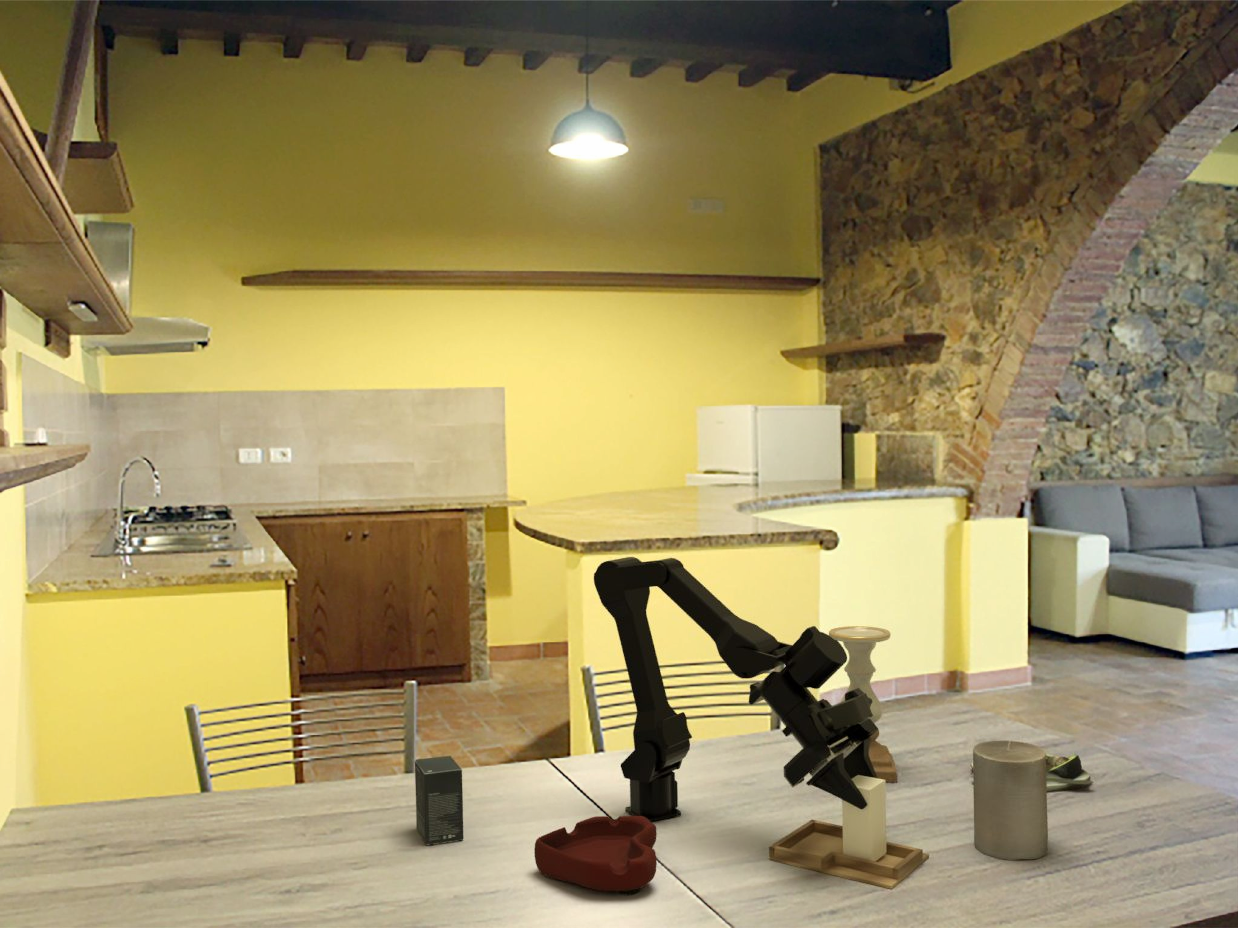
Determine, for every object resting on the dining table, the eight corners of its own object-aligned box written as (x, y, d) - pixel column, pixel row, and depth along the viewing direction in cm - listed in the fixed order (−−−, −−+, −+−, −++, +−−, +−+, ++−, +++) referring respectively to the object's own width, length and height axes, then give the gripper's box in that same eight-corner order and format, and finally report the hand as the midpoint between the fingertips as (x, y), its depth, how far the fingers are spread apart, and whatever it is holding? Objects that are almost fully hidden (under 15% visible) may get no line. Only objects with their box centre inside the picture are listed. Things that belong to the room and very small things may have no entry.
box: (464, 840, 166) (462, 768, 165) (425, 846, 164) (423, 773, 164) (453, 823, 173) (451, 753, 173) (415, 828, 171) (413, 758, 171)
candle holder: (826, 761, 200) (824, 625, 199) (891, 762, 198) (889, 625, 197) (829, 781, 189) (827, 637, 188) (897, 782, 187) (896, 637, 186)
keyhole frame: (769, 859, 156) (769, 846, 156) (811, 831, 166) (811, 819, 166) (891, 888, 146) (891, 874, 146) (929, 857, 156) (928, 843, 156)
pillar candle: (994, 829, 166) (992, 726, 165) (1060, 846, 159) (1058, 739, 158) (960, 849, 159) (958, 742, 158) (1028, 867, 152) (1026, 755, 151)
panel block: (843, 858, 154) (842, 784, 153) (859, 846, 158) (857, 774, 157) (870, 864, 151) (869, 789, 151) (886, 852, 155) (885, 779, 155)
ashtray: (541, 849, 162) (541, 814, 162) (657, 848, 162) (656, 813, 162) (527, 902, 145) (526, 863, 144) (657, 901, 144) (656, 862, 144)
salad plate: (994, 802, 178) (994, 773, 178) (944, 768, 196) (943, 741, 196) (1109, 793, 181) (1109, 764, 181) (1049, 760, 199) (1049, 733, 199)
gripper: (802, 686, 149) (884, 785, 142) (863, 660, 164) (940, 748, 157) (750, 738, 154) (827, 835, 147) (814, 707, 169) (886, 795, 162)
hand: (873, 801), depth 154 cm, fingers closed on panel block, 5 cm apart
